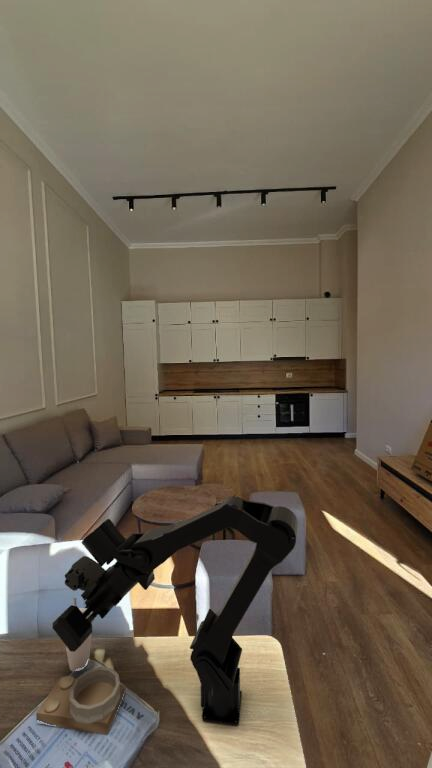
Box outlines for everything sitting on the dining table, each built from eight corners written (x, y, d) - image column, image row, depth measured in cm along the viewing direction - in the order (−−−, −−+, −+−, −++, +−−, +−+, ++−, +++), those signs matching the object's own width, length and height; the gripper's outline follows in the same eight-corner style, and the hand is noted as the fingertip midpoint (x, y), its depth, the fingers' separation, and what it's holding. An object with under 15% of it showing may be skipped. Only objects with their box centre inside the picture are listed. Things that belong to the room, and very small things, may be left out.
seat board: (127, 692, 68) (126, 669, 68) (107, 737, 60) (106, 711, 59) (62, 684, 70) (62, 662, 70) (34, 726, 62) (34, 701, 61)
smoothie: (55, 670, 71) (52, 601, 71) (80, 648, 77) (78, 584, 77) (77, 682, 68) (75, 611, 68) (102, 658, 74) (100, 592, 74)
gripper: (117, 528, 80) (76, 570, 83) (59, 574, 62) (10, 626, 65) (150, 567, 78) (107, 609, 81) (100, 626, 60) (48, 677, 63)
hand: (72, 626), depth 73 cm, fingers closed on smoothie, 6 cm apart
